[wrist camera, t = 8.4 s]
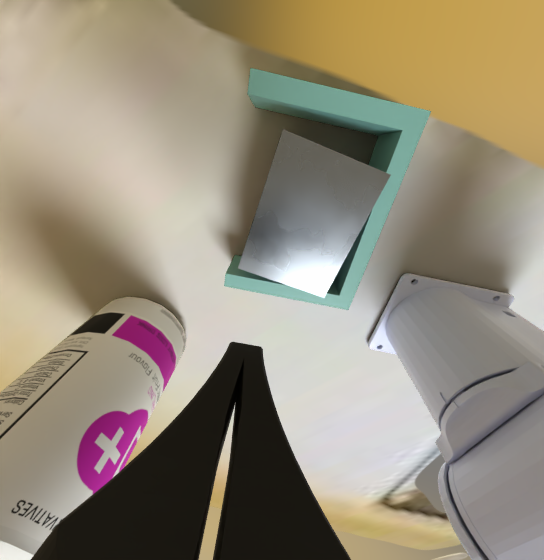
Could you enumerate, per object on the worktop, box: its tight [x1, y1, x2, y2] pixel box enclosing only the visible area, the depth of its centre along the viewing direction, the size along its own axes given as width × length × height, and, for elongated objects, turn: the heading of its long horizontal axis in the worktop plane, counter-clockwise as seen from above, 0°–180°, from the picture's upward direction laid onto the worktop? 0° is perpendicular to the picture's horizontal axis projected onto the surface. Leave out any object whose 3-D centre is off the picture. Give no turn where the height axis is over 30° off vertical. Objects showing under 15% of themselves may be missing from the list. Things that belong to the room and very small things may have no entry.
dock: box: [224, 68, 431, 310], centre depth 16 cm, size 9×12×4 cm
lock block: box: [238, 129, 391, 298], centre depth 16 cm, size 6×8×4 cm
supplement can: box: [0, 297, 186, 560], centre depth 17 cm, size 8×8×15 cm
